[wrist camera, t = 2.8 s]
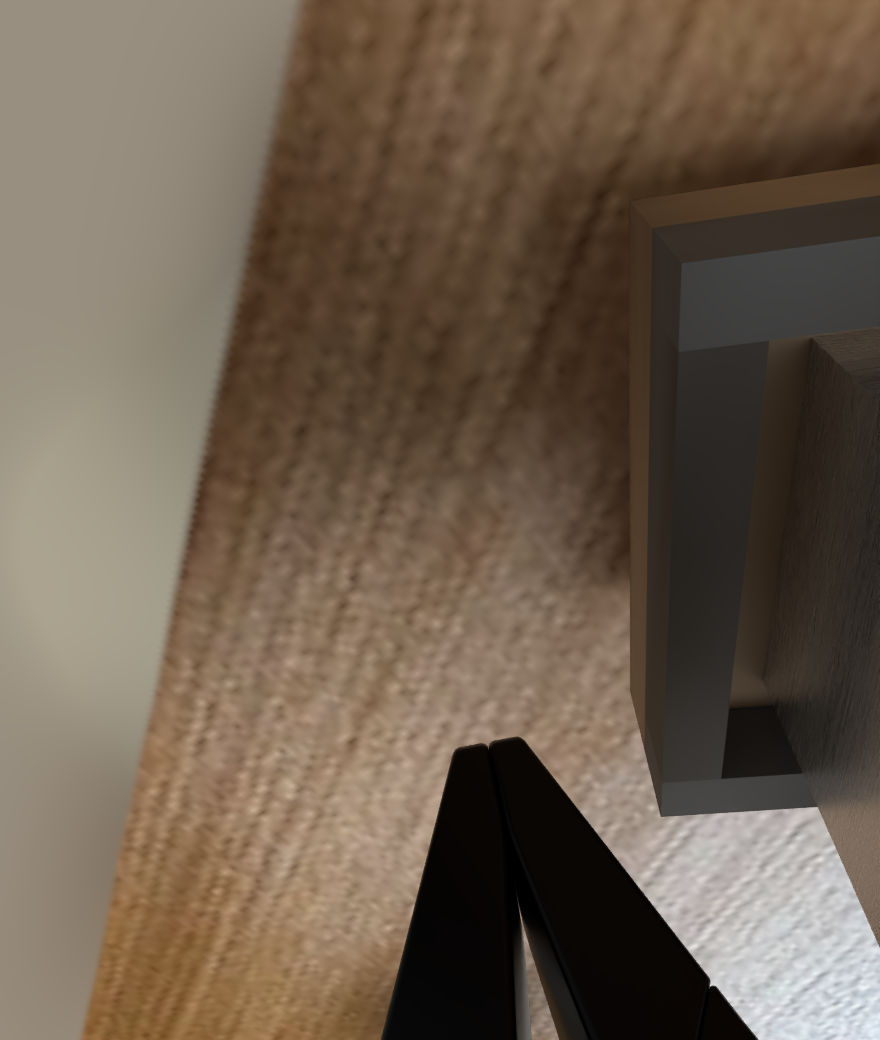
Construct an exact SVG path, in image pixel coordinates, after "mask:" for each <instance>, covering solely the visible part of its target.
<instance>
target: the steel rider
mask: <svg viewBox="0 0 880 1040" xmlns="http://www.w3.org/2000/svg"><path fill="white" fill-rule="evenodd" d="M762 681H763V684H764V686H765V688H766V691H767V693H768V695H769V697H770V700H771V702H772V704H773V706H774V709H775V711H776V713H777V715H778V718H779V720H780V722H781V725H782V727H783V729H784V731H785V734H786V736H787V738H788V740H789V743H790V745H791V747H792V749H793V752H794V754H795V756H796V759H797V761H798V763H799V765H800V768H801V770H802V772H803V774H804V777H805V779H806V781H807V783H808V786H809V788H810V790H811V793H812V795H813V797H814V799H815V802H816V804H817V806H818V808H819V811H820V813H821V815H822V817H823V820H824V822H825V824H826V827H827V829H828V831H829V833H830V836H831V838H832V840H833V842H834V845H835V847H836V849H837V851H838V854H839V856H840V858H841V861H842V863H843V865H844V867H845V870H846V872H847V874H848V876H849V879H850V881H851V883H852V885H853V888H854V890H855V892H856V895H857V897H858V899H859V901H860V904H861V906H862V908H863V910H864V913H865V915H866V917H867V920H868V922H869V924H870V926H871V929H872V931H873V933H874V935H875V938H876V940H877V942H878V944H879V947H880V329H873V330H865V331H857V332H849V333H841V334H833V335H825V336H817V337H811V344H810V351H809V358H808V364H807V371H806V378H805V385H804V392H803V399H802V406H801V413H800V420H799V427H798V434H797V441H796V448H795V455H794V462H793V469H792V476H791V483H790V490H789V497H788V504H787V511H786V518H785V525H784V532H783V539H782V546H781V553H780V560H779V567H778V574H777V581H776V588H775V595H774V602H773V609H772V616H771V623H770V630H769V637H768V644H767V651H766V658H765V665H764V672H763V679H762Z"/></svg>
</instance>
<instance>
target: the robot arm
mask: <svg viewBox="0 0 880 1040" xmlns="http://www.w3.org/2000/svg"><path fill="white" fill-rule="evenodd" d="M517 899H518V900H517ZM518 904H519V906H518ZM519 908H520V912H521V917H522V921H523V925H524V929H525V932H526V936H527V939H528V943H529V946H530V949H531V952H532V955H533V959H534V962H535V965H536V968H537V971H538V974H539V977H540V980H541V984H542V987H543V990H544V993H545V996H546V999H547V1002H548V1005H549V1009H550V1012H551V1015H552V1018H553V1021H554V1024H555V1027H556V1030H557V1034H558V1037H559V1040H758V1038H757V1037H756V1036H755V1035H754V1034H753V1032H752V1031H751V1030H750V1029H749V1027H748V1026H747V1025H746V1024H745V1023H744V1021H743V1020H742V1019H741V1018H740V1016H739V1015H738V1014H737V1012H736V1011H735V1010H734V1009H733V1007H732V1006H731V1005H730V1003H729V1002H728V1001H727V1000H726V998H725V997H724V996H723V994H722V993H721V992H720V991H719V989H718V988H717V987H716V986H711V987H710V978H709V977H708V976H707V974H706V973H705V972H704V971H703V969H702V968H701V967H700V965H699V964H698V963H697V962H696V960H695V959H694V958H693V956H692V955H691V954H690V953H689V951H688V950H687V949H686V947H685V946H684V945H683V944H682V942H681V941H680V940H679V938H678V937H677V936H676V935H675V933H674V932H673V931H672V929H671V928H670V927H669V926H668V924H667V923H666V922H665V920H664V919H663V918H662V917H661V915H660V914H659V913H658V911H657V910H656V909H655V908H654V906H653V905H652V904H651V902H650V901H649V900H648V899H647V897H646V896H645V895H644V893H643V892H642V891H641V890H640V888H639V887H638V886H637V884H636V883H635V882H634V881H633V879H632V878H631V877H630V875H629V874H628V873H627V872H626V870H625V869H624V868H623V866H622V865H621V864H620V863H619V861H618V860H617V859H616V857H615V856H614V855H613V854H612V852H611V851H610V850H609V848H608V847H607V846H606V845H605V843H604V842H603V841H602V839H601V838H600V837H599V836H598V834H597V833H596V832H595V830H594V829H593V828H592V827H591V825H590V824H589V823H588V821H587V820H586V819H585V818H584V816H583V815H582V814H581V812H580V811H579V810H578V809H577V807H576V806H575V805H574V803H573V802H572V801H571V800H570V798H569V797H568V796H567V794H566V793H565V792H564V791H563V789H562V788H561V787H560V785H559V784H558V783H557V782H556V780H555V779H554V778H553V776H552V775H551V774H550V773H549V771H548V770H547V769H546V767H545V766H544V765H543V764H542V762H541V761H540V760H539V758H538V757H537V756H536V755H535V753H534V752H533V751H532V749H531V748H530V747H529V746H528V744H527V743H526V742H525V741H524V740H523V739H522V738H520V737H511V738H506V739H500V740H495V741H492V742H491V743H490V745H489V749H488V746H487V745H486V744H483V743H480V744H474V745H469V746H464V747H459V748H457V749H456V750H455V751H454V753H453V756H452V759H451V763H450V767H449V771H448V775H447V779H446V783H445V787H444V791H443V795H442V799H441V803H440V807H439V811H438V815H437V819H436V823H435V827H434V831H433V835H432V839H431V843H430V847H429V851H428V855H427V859H426V863H425V867H424V871H423V875H422V879H421V883H420V887H419V891H418V895H417V899H416V903H415V907H414V911H413V915H412V919H411V923H410V927H409V931H408V935H407V939H406V943H405V946H404V950H403V954H402V958H401V962H400V966H399V970H398V974H397V978H396V982H395V986H394V990H393V994H392V998H391V1002H390V1006H389V1010H388V1014H387V1018H386V1022H385V1026H384V1030H383V1034H382V1038H381V1040H532V1035H531V1023H530V1011H529V999H528V987H527V975H526V963H525V951H524V941H523V932H522V924H521V918H520V912H519Z"/></svg>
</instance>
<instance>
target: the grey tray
mask: <svg viewBox="0 0 880 1040" xmlns="http://www.w3.org/2000/svg"><path fill="white" fill-rule="evenodd" d="M629 217H630V692H631V696H632V700H633V704H634V708H635V712H636V717H637V721H638V725H639V729H640V733H641V737H642V741H643V745H644V749H645V753H646V758H647V762H648V766H649V770H650V774H651V778H652V782H653V786H654V790H655V794H656V799H657V803H658V807H659V811H660V815H661V817H666V816H682V815H697V814H713V813H729V812H744V811H760V810H775V809H791V808H807V807H818V806H817V804H816V802H815V799H814V797H813V795H812V793H811V790H810V788H809V786H808V783H807V781H806V779H805V777H804V774H803V772H802V770H801V768H800V765H799V763H798V761H797V759H796V756H795V754H794V752H793V749H792V747H791V745H790V743H789V740H788V738H787V736H786V734H785V731H784V729H783V727H782V725H781V722H780V720H779V718H778V715H777V713H776V711H775V709H774V706H773V704H772V702H771V700H770V697H769V695H768V693H767V691H766V688H765V686H764V684H763V681H762V679H763V672H764V665H765V658H766V651H767V644H768V637H769V630H770V623H771V616H772V609H773V602H774V595H775V588H776V581H777V574H778V567H779V560H780V553H781V546H782V539H783V532H784V525H785V518H786V511H787V504H788V497H789V490H790V483H791V476H792V469H793V462H794V455H795V448H796V441H797V434H798V427H799V420H800V413H801V406H802V399H803V392H804V385H805V378H806V371H807V364H808V358H809V351H810V344H811V337H817V336H825V335H833V334H841V333H849V332H857V331H865V330H873V329H880V164H874V165H867V166H860V167H854V168H847V169H840V170H833V171H827V172H820V173H813V174H806V175H799V176H793V177H786V178H779V179H772V180H766V181H759V182H752V183H745V184H738V185H732V186H725V187H718V188H711V189H705V190H698V191H691V192H684V193H678V194H671V195H664V196H657V197H650V198H644V199H637V200H630V201H629Z"/></svg>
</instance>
